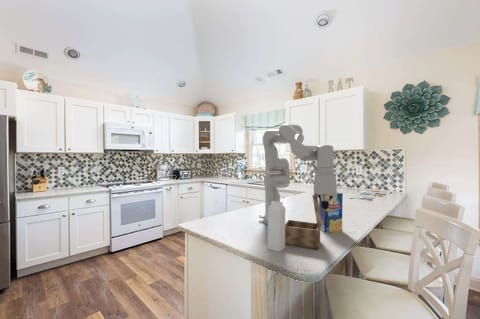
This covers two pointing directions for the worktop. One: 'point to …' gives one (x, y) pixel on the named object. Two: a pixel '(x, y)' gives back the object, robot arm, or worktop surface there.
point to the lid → (317, 211)
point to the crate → (302, 234)
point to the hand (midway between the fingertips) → (325, 209)
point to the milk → (276, 226)
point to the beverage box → (332, 214)
